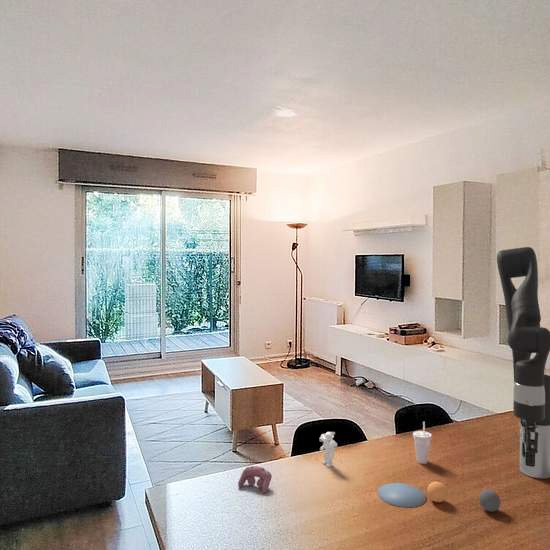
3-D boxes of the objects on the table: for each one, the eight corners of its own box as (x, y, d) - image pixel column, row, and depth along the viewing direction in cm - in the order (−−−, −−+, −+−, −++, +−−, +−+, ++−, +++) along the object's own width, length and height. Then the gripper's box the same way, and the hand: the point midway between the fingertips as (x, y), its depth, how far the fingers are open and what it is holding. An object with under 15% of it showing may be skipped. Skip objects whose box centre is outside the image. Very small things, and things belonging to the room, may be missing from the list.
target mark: (411, 481, 146) (411, 481, 146) (435, 504, 133) (435, 503, 133) (370, 486, 143) (370, 485, 143) (390, 509, 130) (390, 509, 130)
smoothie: (432, 466, 157) (433, 425, 157) (413, 464, 159) (413, 424, 158) (430, 458, 164) (430, 419, 163) (411, 456, 165) (411, 418, 165)
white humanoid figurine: (339, 468, 156) (339, 433, 156) (329, 470, 154) (329, 435, 154) (326, 458, 164) (326, 424, 164) (316, 460, 163) (316, 426, 162)
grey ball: (491, 504, 133) (491, 485, 132) (504, 514, 127) (505, 494, 127) (474, 506, 131) (474, 487, 131) (487, 516, 126) (487, 496, 126)
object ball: (440, 495, 138) (440, 477, 137) (451, 504, 132) (451, 486, 132) (423, 497, 136) (423, 479, 136) (433, 507, 131) (433, 488, 131)
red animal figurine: (270, 494, 142) (274, 469, 145) (264, 493, 138) (269, 468, 141) (242, 487, 146) (246, 464, 149) (236, 487, 142) (240, 463, 145)
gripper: (510, 391, 133) (509, 449, 134) (517, 406, 120) (516, 470, 120) (540, 394, 130) (539, 453, 131) (550, 409, 117) (549, 474, 117)
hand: (528, 460), depth 125 cm, fingers open, 5 cm apart
